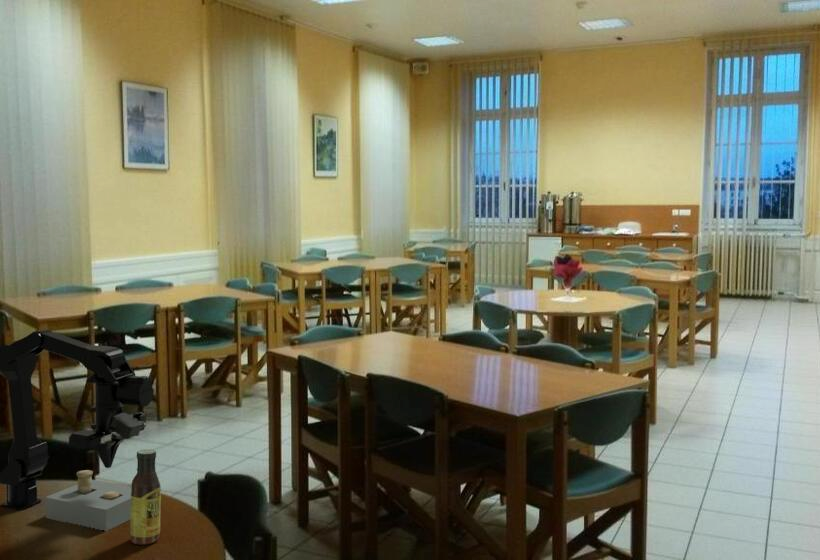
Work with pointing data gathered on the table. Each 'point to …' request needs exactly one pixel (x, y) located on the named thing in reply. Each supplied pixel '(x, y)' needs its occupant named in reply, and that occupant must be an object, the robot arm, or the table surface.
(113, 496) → the peg
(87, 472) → the peg
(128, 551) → the table surface
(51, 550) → the table surface
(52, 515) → the board
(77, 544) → the table surface
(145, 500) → the sauce bottle
